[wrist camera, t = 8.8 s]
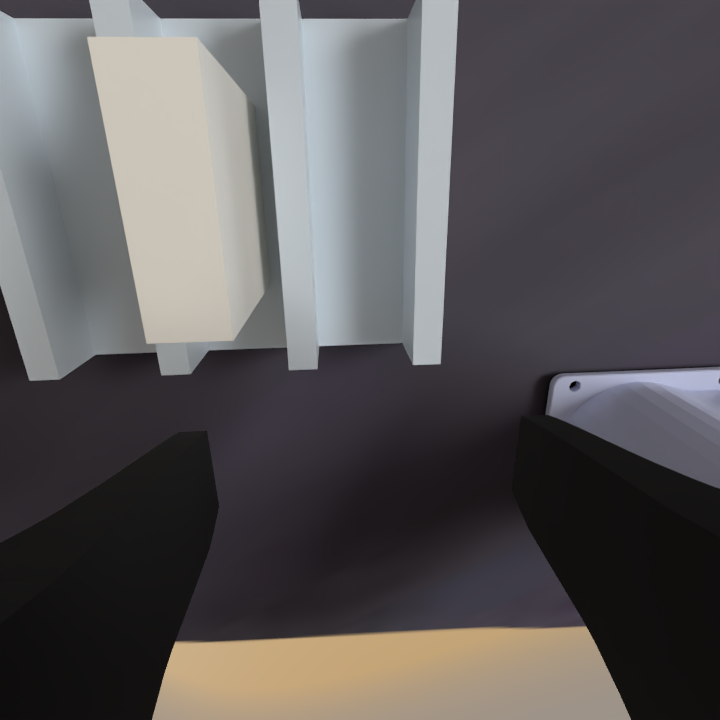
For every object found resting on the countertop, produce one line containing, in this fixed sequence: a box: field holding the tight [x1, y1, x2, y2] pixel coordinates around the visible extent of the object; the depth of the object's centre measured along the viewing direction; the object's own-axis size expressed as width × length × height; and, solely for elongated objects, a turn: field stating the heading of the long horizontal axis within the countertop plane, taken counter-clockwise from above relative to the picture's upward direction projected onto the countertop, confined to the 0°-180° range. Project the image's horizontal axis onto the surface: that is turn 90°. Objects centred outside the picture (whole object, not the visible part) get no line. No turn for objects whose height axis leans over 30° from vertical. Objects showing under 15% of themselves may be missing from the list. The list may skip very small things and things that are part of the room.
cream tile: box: [87, 37, 270, 344], centre depth 13 cm, size 2×6×7 cm, turn 1°
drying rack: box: [0, 0, 458, 381], centre depth 15 cm, size 14×11×4 cm
